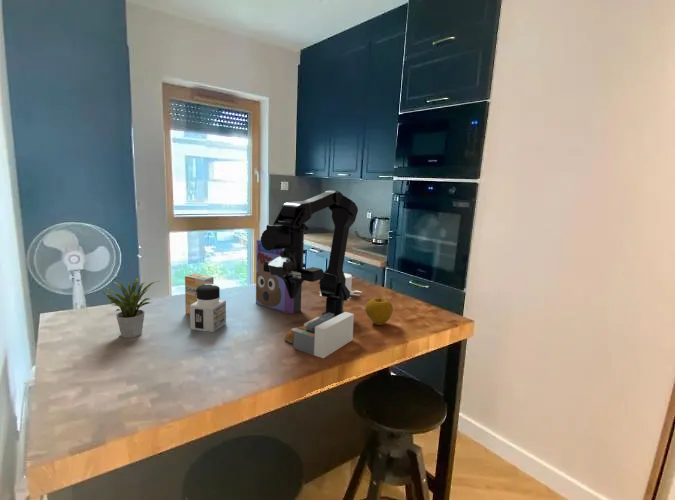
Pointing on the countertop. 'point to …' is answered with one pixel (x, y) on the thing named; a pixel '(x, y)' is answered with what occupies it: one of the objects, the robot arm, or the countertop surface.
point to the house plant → (130, 309)
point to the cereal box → (273, 284)
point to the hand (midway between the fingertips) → (292, 298)
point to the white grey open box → (326, 336)
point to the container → (208, 309)
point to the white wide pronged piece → (348, 284)
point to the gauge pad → (317, 322)
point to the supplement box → (194, 288)
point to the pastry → (292, 334)
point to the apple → (379, 310)
